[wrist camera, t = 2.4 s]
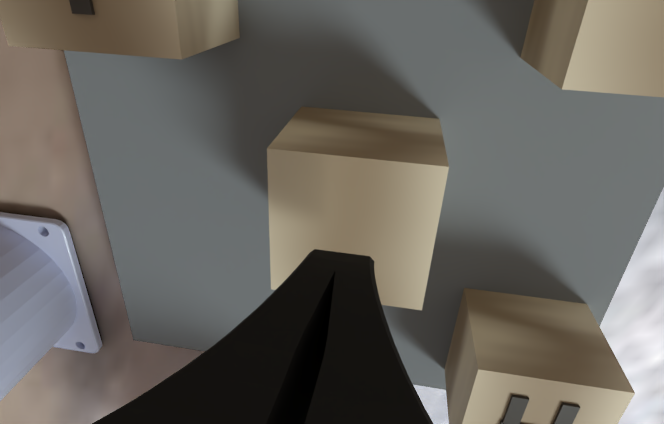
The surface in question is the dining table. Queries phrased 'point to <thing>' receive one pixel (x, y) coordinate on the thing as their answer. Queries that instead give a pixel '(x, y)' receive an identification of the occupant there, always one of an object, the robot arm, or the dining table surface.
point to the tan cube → (121, 25)
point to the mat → (374, 97)
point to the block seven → (598, 45)
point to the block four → (531, 363)
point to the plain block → (358, 195)
